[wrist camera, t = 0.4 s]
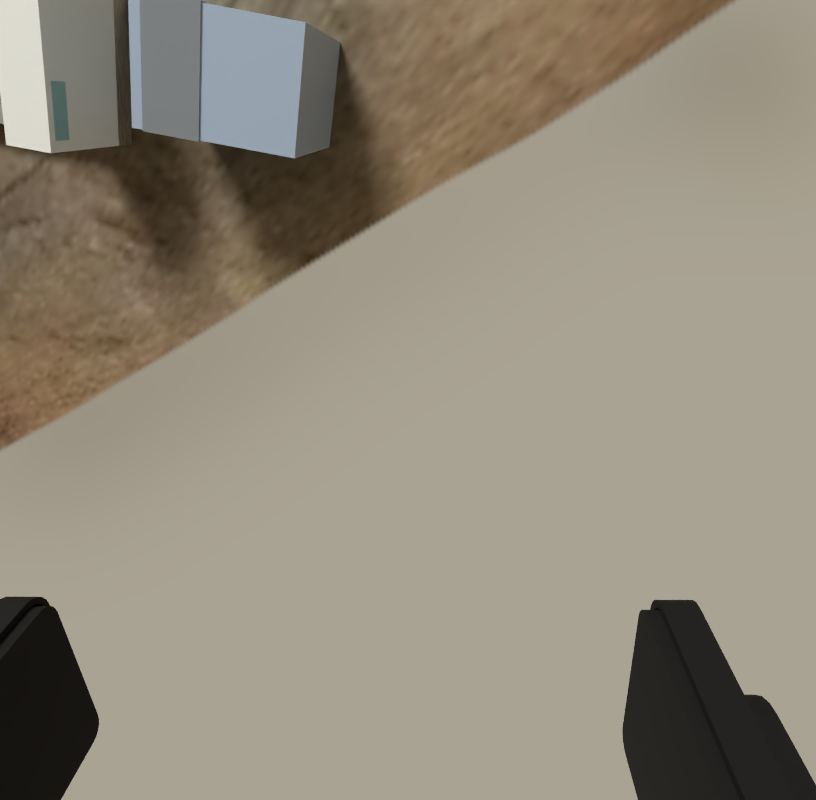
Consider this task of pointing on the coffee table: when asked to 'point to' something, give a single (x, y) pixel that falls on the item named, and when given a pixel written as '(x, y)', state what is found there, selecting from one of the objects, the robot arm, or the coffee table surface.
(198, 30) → the block
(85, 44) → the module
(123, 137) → the rail
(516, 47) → the coffee table surface
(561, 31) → the coffee table surface
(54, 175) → the coffee table surface
